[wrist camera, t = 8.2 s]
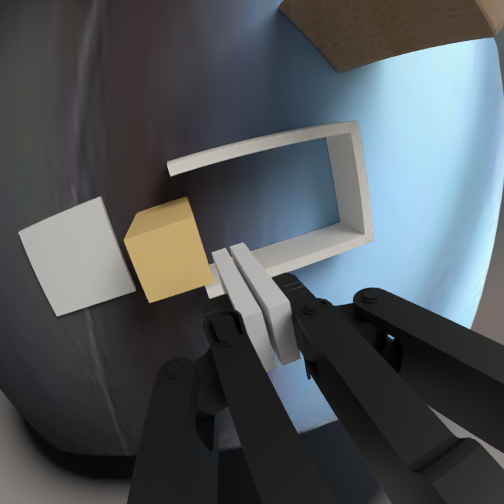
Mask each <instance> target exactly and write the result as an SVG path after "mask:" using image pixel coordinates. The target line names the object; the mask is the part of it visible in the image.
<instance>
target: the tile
mask: <svg viewBox="0 0 504 504" xmlns="http://www.w3.org/2000/svg"><path fill="white" fill-rule="evenodd" d="M19 235H20V238H21V240H22V243H23V245H24V248H25V250H26V253H27V255H28V258H29V260H30V262H31V265H32V267H33V269H34V271H35V273H36V276H37V278H38V280H39V282H40V284H41V286H42V288H43V290H44V292H45V294H46V296H47V298H48V300H49V302H50V304H51V306H52V308H53V310H54V312H55V314H56V316H60V315H64V314H67V313H70V312H73V311H76V310H79V309H82V308H85V307H88V306H91V305H94V304H97V303H101V302H104V301H107V300H110V299H113V298H116V297H119V296H122V295H125V294H128V293H131V292H134V291H136V287H135V284H134V282H133V280H132V277H131V275H130V273H129V270H128V268H127V265H126V263H125V260H124V258H123V255H122V253H121V250H120V247H119V245H118V242H117V240H116V237H115V234H114V231H113V229H112V226H111V223H110V220H109V217H108V215H107V212H106V209H105V206H104V203H103V200H102V197H101V196H100V197H97V198H95V199H92V200H90V201H87V202H85V203H82V204H80V205H77V206H75V207H72V208H70V209H68V210H65V211H63V212H60V213H58V214H56V215H54V216H51V217H49V218H47V219H44V220H42V221H40V222H38V223H36V224H34V225H31V226H29V227H27V228H25V229H23V230H21V231H19Z"/></svg>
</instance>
